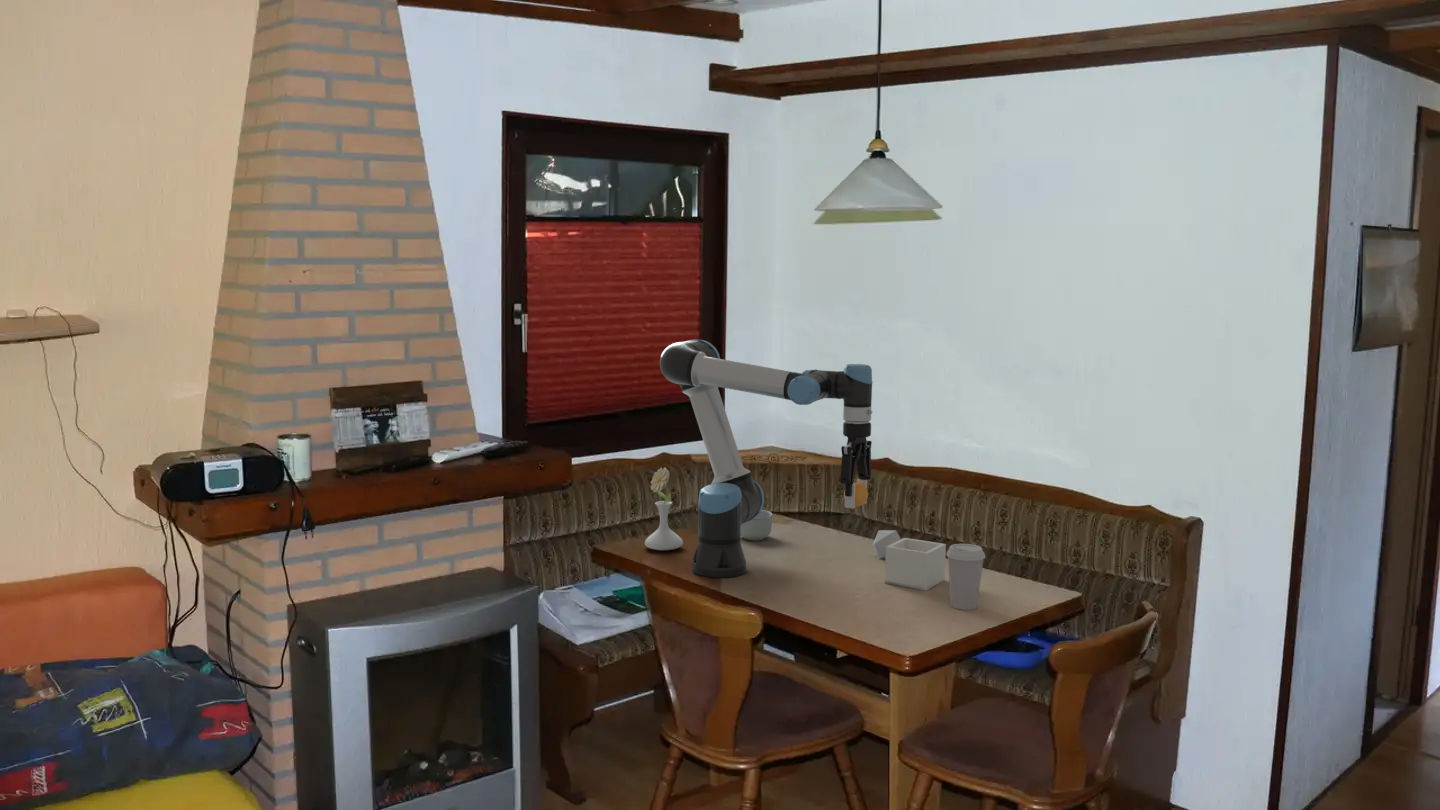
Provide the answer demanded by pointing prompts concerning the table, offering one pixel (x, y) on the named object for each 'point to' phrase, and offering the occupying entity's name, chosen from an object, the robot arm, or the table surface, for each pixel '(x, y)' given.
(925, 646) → the table surface
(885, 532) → the die
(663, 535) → the flower in vase
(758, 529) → the teacup
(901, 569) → the white open box
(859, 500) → the ball
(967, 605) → the coffee cup
